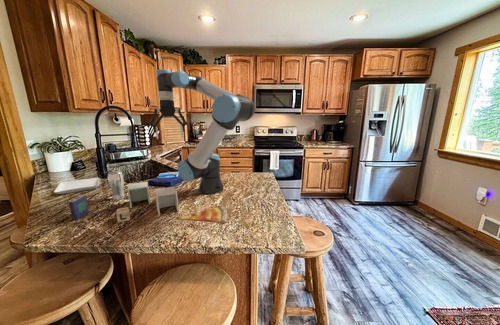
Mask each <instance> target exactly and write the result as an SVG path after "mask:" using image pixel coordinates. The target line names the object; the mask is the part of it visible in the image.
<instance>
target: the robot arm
mask: <svg viewBox="0 0 500 325" xmlns="http://www.w3.org/2000/svg"><path fill="white" fill-rule="evenodd" d="M156 81H157V90H158V100H159V108H154V109H153V111H154V112H153V114H152V117H151V119H150V122H149V124H148V125H149V126H150V127H152V129H153V130H152V131H153V133H155V136H156V139H157V140H158V139H159V130H158V126H157V125H158V124H159V123H160V121H161V120H162V119H163V118H164V117H165V118H172V117H173V118H174V119H175V120H176V122H178V124H179V125H180V136H181V138H182V139H183V138H184V132H185V128H186V127H185V126H188V123H187V120H186V119H185V117H184V115H183V114H182V111H181V108H177V109H176V108H175V101H174V88H175V89H176V88H177V89H178V88H179V89H180V88H181V89H187V90H192V91H195V92H197V93H199V94H202V95H203V96H205V97H207V98H209V99H211V100H212V101H213V103H212V105H211V109H212V110H211V113H212V114H211V118H212V119H211V122H210V125H209V126H208V127H207V130H206V131H205V133H204V134H203V136H202V137H201V139H200V141H199V143H198V144H197V146H196V147H195V149H194V151H191V152H189V153H188V155H187V156H186V158H185V159H182V160H180V161H179V162H178V163H177V171H178V174H179V176H180V179H182V181H184V182H193V181H195V180H197V179H200V182H199V185H198V192H199V193H201V194H204V195H215V194H218V193H220V192H223V191H224V184H223V181H222V178H221V168H220V167H221V165H220V164H221V159H220V156H219V154H218V153H214V152H215V151H216V149H217V148H218V146H219V145H220V143H221V142H222V140H223V139H224V138H225V136H226V135H227V133H228V132H229V131H233V130H234V128H235V127H236V126H237V125H238V123H239V122H246V121H249V120H250V119H252V118H253V117H254V114H255V112H256V106H255V103H254V101H253V100H252V99H251V98H250V97H248V96H244V95H243V94H240V93H236V94H235V93H233V92H231V91H229V90H226V89H225V88H223V87H220V86H218V85H216V84H214V83H212V82H209V81H208V80H206V79H205V78H204V77H202V76H199V75H192V74H187V73H186V72H185V71H184V70H176V71H171V70H170V69H166V68H163V69H158V70H156ZM159 112H160V115H159V117H158V118H157V119H156V117H157V114H158V113H159ZM175 113H177V115H179V117H178V116H177V115H176V114H175ZM155 119H156V121H155ZM180 119H181V120H182V121H181V120H180ZM154 121H155V122H154Z"/></svg>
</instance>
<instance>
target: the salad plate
mask: <svg viewBox="0 0 500 325" xmlns="http://www.w3.org/2000/svg"><path fill="white" fill-rule="evenodd" d="M99 183H100V177H93V178H92V177H91V178H84V179H83V178H82V179H75V180H69V181H63V182H60V183H58V185H57V187H56V188H55V190H53V193H54V194H56V195H62V194H63V195H65V194H66V193H67V194H72V193H77V192H78V193H79V192H85V191H91V190H94V189H97V188H98V187H99V185H100V184H99Z"/></svg>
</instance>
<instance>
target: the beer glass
mask: <svg viewBox="0 0 500 325" xmlns="http://www.w3.org/2000/svg"><path fill="white" fill-rule="evenodd" d="M107 179H108V185H109V187H110V190H111V192H112V200H113V201H120V200H123V199H125V198H126V195H125V191H124V186H125V185H124V184H125V183H124V180H125V179H124V175H123V171H119V170H116V171H110V172H108V173H107Z"/></svg>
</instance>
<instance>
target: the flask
mask: <svg viewBox="0 0 500 325" xmlns="http://www.w3.org/2000/svg"><path fill="white" fill-rule="evenodd" d="M68 206H69V209H70V214H71V218H72V221H73V222H75V221H78V220H80V219H82V218H83V217H85V216H86V215H87V214H88V213H89V212H90V211H89V207H88V202H87V197H86V194H81V193H79V194H75V197H74V198H73V199H70V200H69V201H68Z"/></svg>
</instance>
